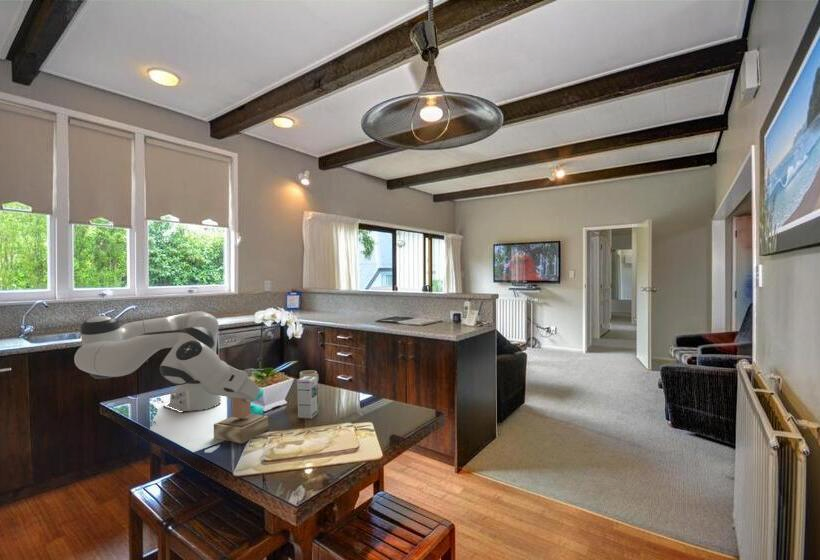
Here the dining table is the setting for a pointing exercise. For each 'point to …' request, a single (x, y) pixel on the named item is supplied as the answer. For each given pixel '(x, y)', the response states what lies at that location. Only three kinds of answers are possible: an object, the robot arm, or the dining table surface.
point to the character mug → (309, 374)
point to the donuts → (256, 408)
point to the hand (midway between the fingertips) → (243, 399)
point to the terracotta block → (240, 408)
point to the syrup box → (307, 397)
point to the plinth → (241, 428)
